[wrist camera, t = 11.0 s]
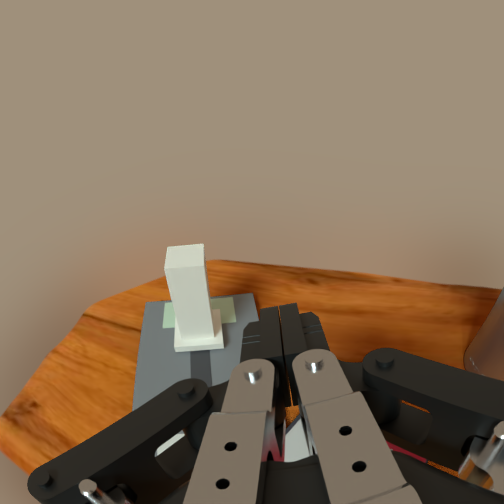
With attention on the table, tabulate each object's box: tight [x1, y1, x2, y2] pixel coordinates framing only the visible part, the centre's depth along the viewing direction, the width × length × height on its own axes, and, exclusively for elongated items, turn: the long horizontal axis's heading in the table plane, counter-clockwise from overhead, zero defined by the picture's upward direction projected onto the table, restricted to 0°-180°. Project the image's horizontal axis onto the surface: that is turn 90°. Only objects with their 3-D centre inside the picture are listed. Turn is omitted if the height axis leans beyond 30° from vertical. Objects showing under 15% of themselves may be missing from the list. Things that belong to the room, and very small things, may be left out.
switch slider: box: [164, 244, 224, 352], centre depth 34 cm, size 6×6×12 cm
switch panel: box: [132, 293, 259, 457], centre depth 33 cm, size 16×26×2 cm, turn 8°
